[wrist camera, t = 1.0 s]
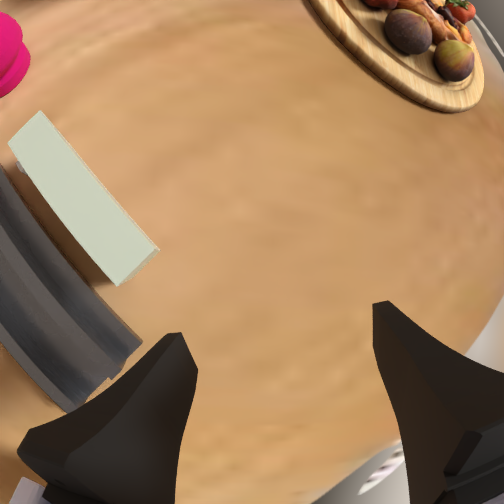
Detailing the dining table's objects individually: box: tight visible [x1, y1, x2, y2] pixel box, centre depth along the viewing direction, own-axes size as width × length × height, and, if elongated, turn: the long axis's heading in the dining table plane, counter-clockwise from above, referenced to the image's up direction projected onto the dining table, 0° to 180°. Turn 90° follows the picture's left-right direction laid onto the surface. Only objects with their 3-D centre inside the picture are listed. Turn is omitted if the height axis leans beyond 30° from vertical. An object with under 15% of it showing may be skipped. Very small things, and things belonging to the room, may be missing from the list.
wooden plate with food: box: [309, 0, 484, 113], centre depth 27 cm, size 32×32×8 cm
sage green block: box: [8, 110, 161, 286], centre depth 19 cm, size 12×4×7 cm, turn 43°
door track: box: [0, 164, 143, 414], centre depth 19 cm, size 20×10×3 cm, turn 43°
